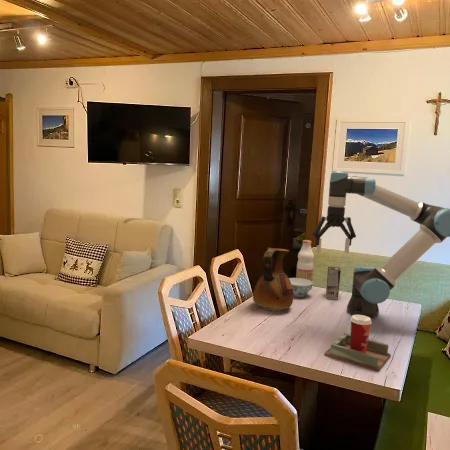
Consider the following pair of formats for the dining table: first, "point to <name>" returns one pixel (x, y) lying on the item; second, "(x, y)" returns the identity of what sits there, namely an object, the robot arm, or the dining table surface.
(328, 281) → the coffee box
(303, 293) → the chinaware
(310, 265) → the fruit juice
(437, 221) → the robot arm
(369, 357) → the bay
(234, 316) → the dining table surface
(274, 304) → the ceramic pitcher
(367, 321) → the paper cup
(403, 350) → the dining table surface
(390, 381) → the dining table surface
